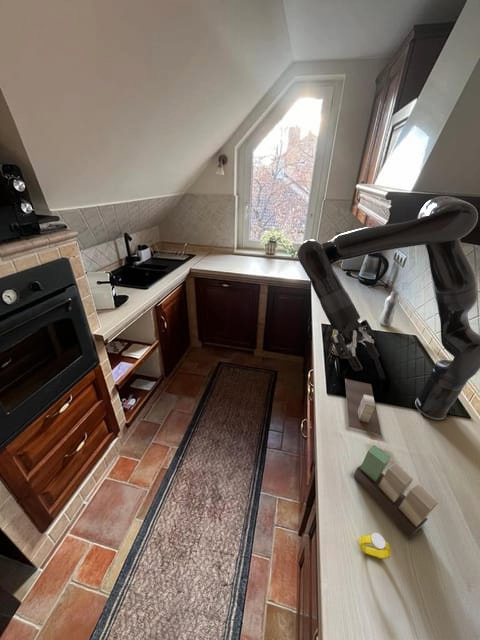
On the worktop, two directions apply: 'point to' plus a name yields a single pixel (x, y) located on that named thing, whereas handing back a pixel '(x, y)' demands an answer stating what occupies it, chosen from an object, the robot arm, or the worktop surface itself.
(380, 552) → the watch
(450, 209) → the robot arm
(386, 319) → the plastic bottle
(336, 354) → the sprinkles bottle
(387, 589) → the worktop surface
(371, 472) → the green flat piece
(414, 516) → the stand
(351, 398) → the near board
